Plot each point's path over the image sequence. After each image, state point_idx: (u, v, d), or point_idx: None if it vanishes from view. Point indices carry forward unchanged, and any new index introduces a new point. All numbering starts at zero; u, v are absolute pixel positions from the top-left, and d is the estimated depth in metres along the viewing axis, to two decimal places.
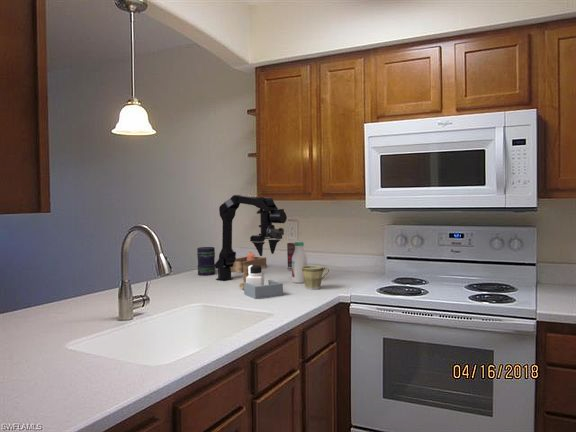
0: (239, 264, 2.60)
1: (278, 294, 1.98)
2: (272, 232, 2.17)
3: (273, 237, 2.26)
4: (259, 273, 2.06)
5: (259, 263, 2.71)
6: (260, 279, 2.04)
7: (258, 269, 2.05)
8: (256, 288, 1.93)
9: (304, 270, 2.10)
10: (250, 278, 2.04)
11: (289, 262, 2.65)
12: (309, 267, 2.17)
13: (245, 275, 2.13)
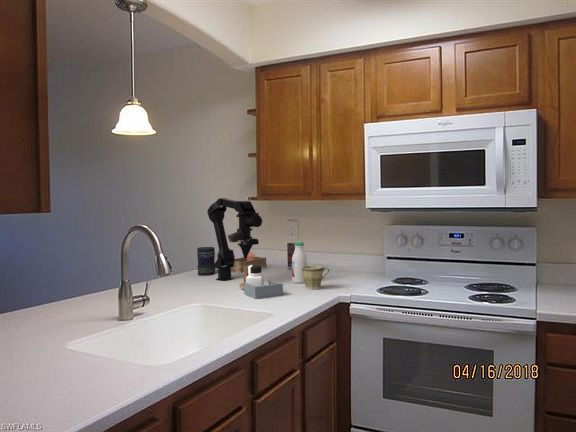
0: (239, 264, 2.60)
1: (278, 294, 1.98)
2: None
3: None
4: (259, 273, 2.06)
5: (259, 263, 2.71)
6: (260, 279, 2.04)
7: (258, 269, 2.05)
8: (256, 288, 1.93)
9: (304, 270, 2.10)
10: (250, 278, 2.04)
11: (289, 262, 2.65)
12: (309, 267, 2.17)
13: (245, 275, 2.13)
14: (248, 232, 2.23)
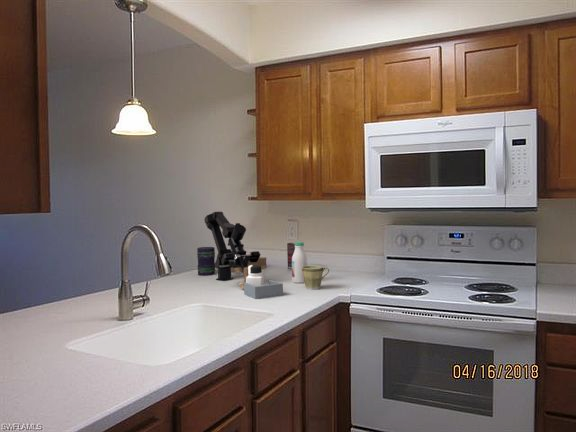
0: None
1: (278, 294, 1.98)
2: None
3: None
4: (259, 273, 2.06)
5: (259, 263, 2.71)
6: (260, 279, 2.04)
7: (258, 269, 2.05)
8: (256, 288, 1.93)
9: (304, 270, 2.10)
10: (250, 278, 2.04)
11: (289, 262, 2.65)
12: (309, 267, 2.17)
13: (245, 275, 2.13)
14: (233, 250, 2.21)
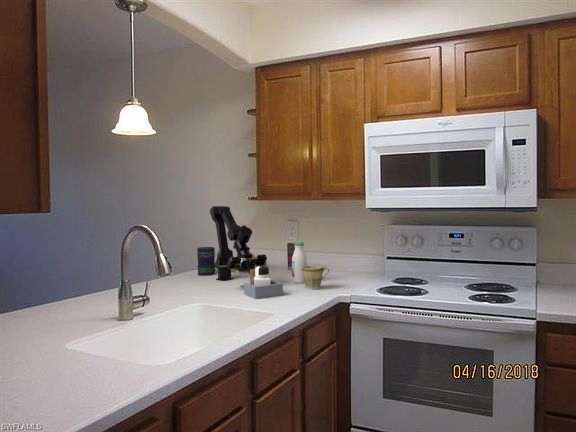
0: None
1: (278, 294, 1.98)
2: None
3: None
4: (267, 274, 2.01)
5: None
6: (269, 280, 2.00)
7: (266, 270, 2.01)
8: (256, 288, 1.93)
9: (304, 270, 2.10)
10: (259, 280, 1.99)
11: (289, 262, 2.65)
12: (309, 267, 2.17)
13: (252, 277, 2.07)
14: (239, 253, 2.15)
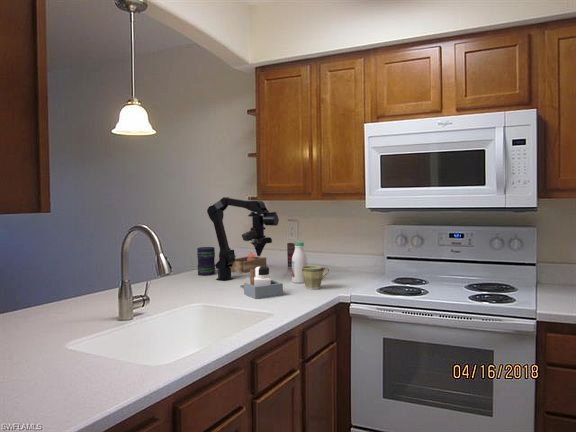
0: (239, 264, 2.60)
1: (278, 294, 1.98)
2: None
3: (258, 240, 2.30)
4: (267, 274, 2.01)
5: (259, 263, 2.71)
6: (269, 281, 2.00)
7: (266, 270, 2.01)
8: (256, 288, 1.93)
9: (304, 270, 2.10)
10: (259, 280, 1.99)
11: (289, 262, 2.65)
12: (309, 267, 2.17)
13: (252, 277, 2.07)
14: (261, 231, 2.28)
